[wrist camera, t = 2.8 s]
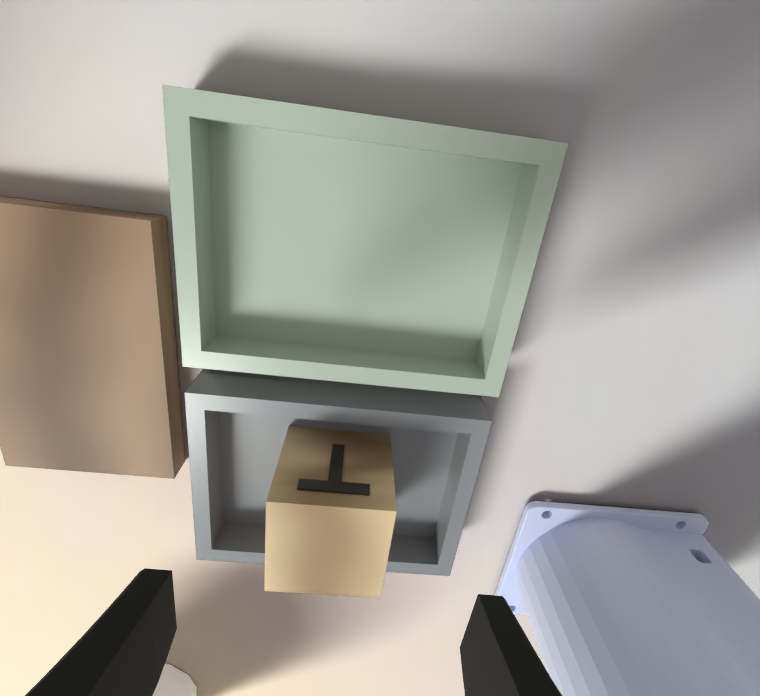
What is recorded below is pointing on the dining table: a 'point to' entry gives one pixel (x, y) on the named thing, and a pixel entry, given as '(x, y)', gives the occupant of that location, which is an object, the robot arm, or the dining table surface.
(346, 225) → the sage tray
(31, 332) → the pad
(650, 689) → the robot arm
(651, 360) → the dining table surface
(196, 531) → the gray tray
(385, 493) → the letter cube
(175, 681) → the foam cup
